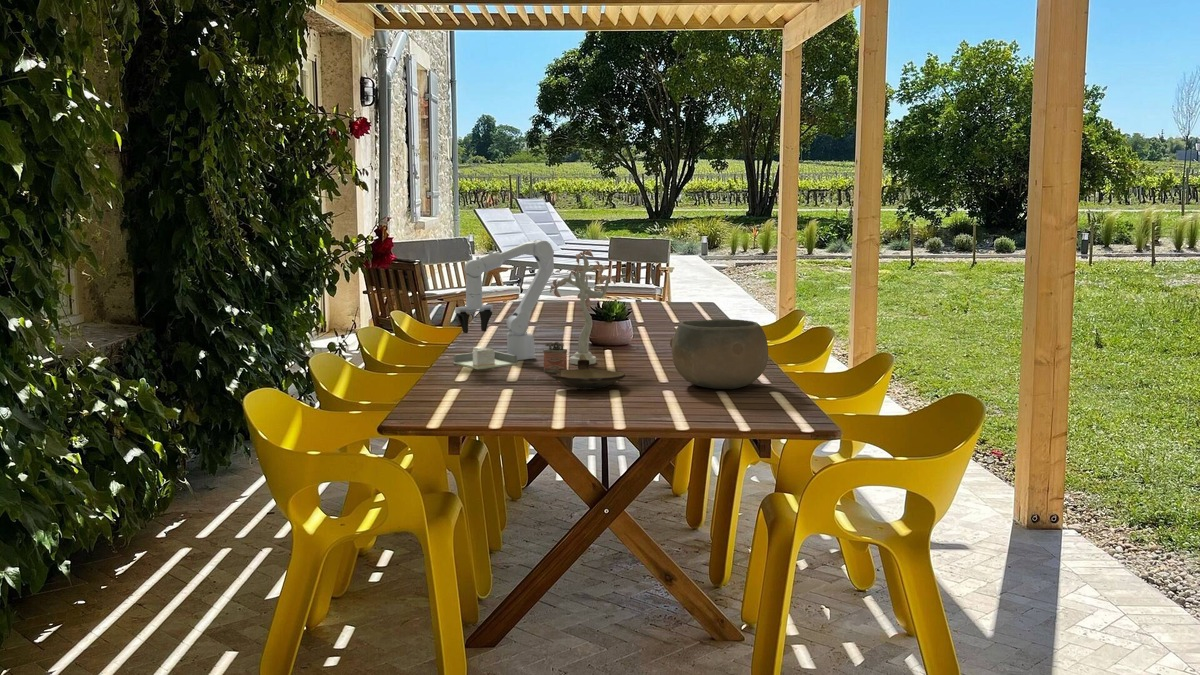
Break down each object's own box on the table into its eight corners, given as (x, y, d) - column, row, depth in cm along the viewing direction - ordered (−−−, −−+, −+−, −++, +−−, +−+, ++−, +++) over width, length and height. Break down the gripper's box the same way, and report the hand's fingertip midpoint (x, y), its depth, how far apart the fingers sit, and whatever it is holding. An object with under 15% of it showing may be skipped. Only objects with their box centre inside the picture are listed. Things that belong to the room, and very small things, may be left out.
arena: (492, 358, 360) (492, 350, 360) (517, 364, 348) (516, 355, 348) (453, 363, 351) (453, 354, 350) (477, 369, 338) (477, 360, 338)
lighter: (568, 370, 335) (567, 341, 334) (566, 372, 332) (566, 342, 330) (544, 370, 336) (544, 341, 335) (542, 372, 333) (542, 342, 331)
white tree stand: (556, 355, 367) (554, 246, 362) (619, 356, 365) (619, 246, 360) (545, 368, 340) (543, 251, 334) (613, 369, 338) (613, 251, 332)
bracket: (494, 363, 346) (494, 349, 345) (477, 365, 341) (477, 351, 340) (480, 360, 352) (480, 346, 352) (463, 362, 348) (463, 348, 347)
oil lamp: (542, 394, 296) (541, 369, 295) (568, 376, 325) (568, 353, 324) (615, 397, 291) (615, 372, 290) (635, 379, 320) (636, 355, 319)
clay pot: (655, 381, 315) (656, 319, 312) (739, 375, 325) (740, 314, 323) (697, 399, 288) (698, 331, 285) (787, 392, 298) (788, 325, 295)
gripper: (485, 291, 360) (485, 329, 362) (450, 294, 351) (451, 332, 353) (496, 293, 355) (496, 331, 357) (460, 295, 346) (461, 334, 348)
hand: (474, 332), depth 355 cm, fingers open, 7 cm apart
